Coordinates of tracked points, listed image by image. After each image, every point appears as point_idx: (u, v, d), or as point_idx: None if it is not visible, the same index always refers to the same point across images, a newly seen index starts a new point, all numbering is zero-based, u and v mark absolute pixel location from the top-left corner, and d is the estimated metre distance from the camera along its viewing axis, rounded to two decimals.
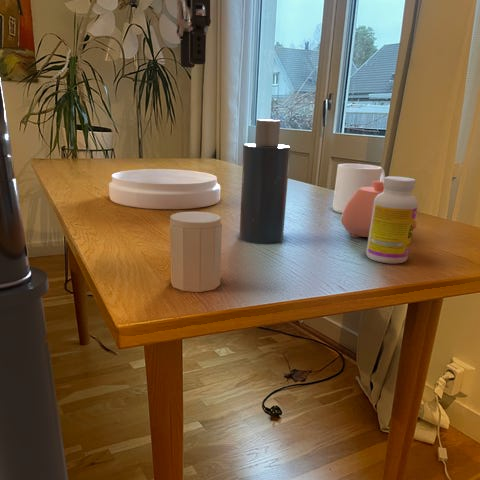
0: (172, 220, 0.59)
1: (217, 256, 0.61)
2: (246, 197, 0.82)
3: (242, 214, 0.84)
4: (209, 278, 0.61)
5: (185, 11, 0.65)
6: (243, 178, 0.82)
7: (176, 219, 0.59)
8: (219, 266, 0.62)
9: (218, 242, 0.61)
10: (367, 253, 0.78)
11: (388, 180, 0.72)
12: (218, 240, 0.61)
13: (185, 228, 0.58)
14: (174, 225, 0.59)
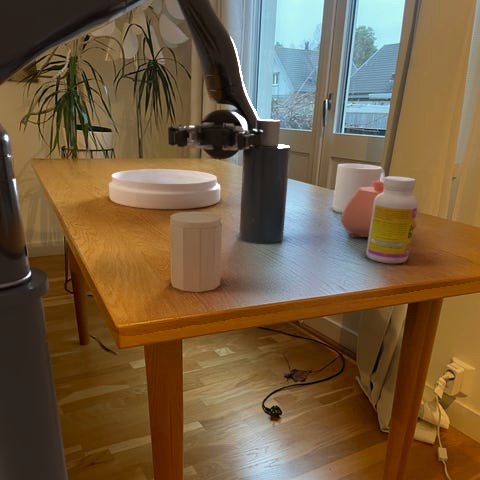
0: (172, 220, 0.59)
1: (217, 256, 0.61)
2: (246, 197, 0.82)
3: (242, 214, 0.84)
4: (209, 278, 0.61)
5: (241, 127, 0.71)
6: (243, 178, 0.82)
7: (176, 219, 0.59)
8: (219, 266, 0.62)
9: (218, 242, 0.61)
10: (367, 253, 0.78)
11: (388, 180, 0.72)
12: (218, 240, 0.61)
13: (185, 228, 0.58)
14: (174, 225, 0.59)
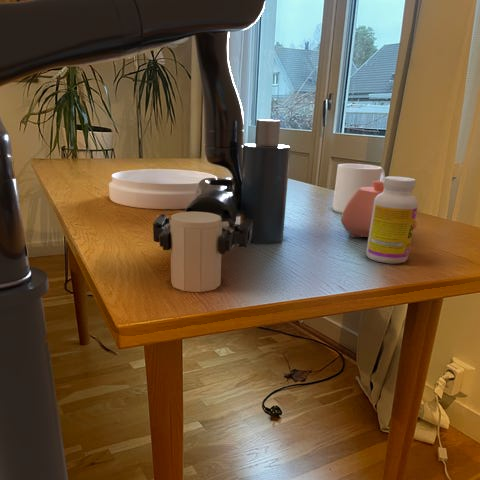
0: (173, 220, 0.59)
1: (218, 257, 0.61)
2: (246, 197, 0.82)
3: (242, 214, 0.84)
4: (210, 278, 0.61)
5: (227, 222, 0.65)
6: (243, 178, 0.82)
7: (177, 219, 0.59)
8: (219, 266, 0.62)
9: (218, 243, 0.61)
10: (367, 253, 0.78)
11: (388, 180, 0.72)
12: (219, 240, 0.61)
13: (186, 228, 0.58)
14: (175, 225, 0.59)
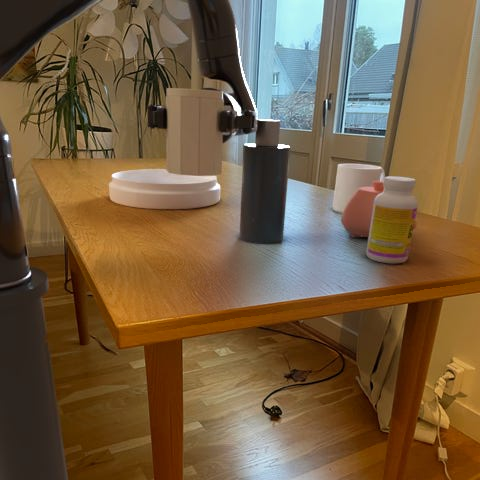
0: (168, 90, 0.53)
1: (218, 137, 0.55)
2: (246, 197, 0.82)
3: (242, 214, 0.84)
4: (209, 160, 0.55)
5: (229, 106, 0.59)
6: (243, 178, 0.82)
7: (173, 88, 0.52)
8: (220, 150, 0.56)
9: (219, 120, 0.54)
10: (367, 253, 0.78)
11: (388, 180, 0.72)
12: (220, 117, 0.54)
13: (183, 96, 0.51)
14: (171, 95, 0.52)
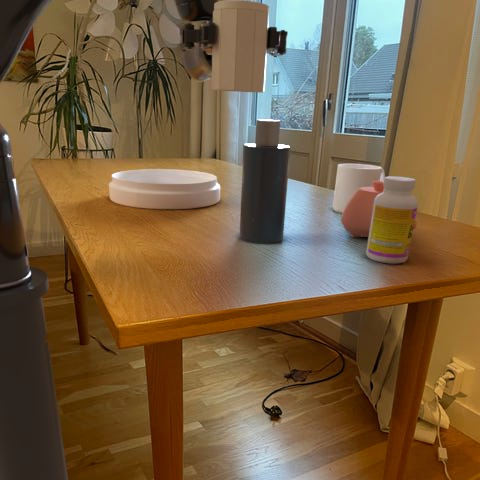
0: (221, 3, 0.53)
1: (266, 53, 0.57)
2: (246, 197, 0.82)
3: (242, 214, 0.84)
4: (260, 76, 0.57)
5: None
6: (243, 178, 0.82)
7: None
8: (265, 67, 0.58)
9: (267, 36, 0.56)
10: (367, 253, 0.78)
11: (388, 180, 0.72)
12: (267, 33, 0.56)
13: (239, 8, 0.53)
14: (224, 8, 0.53)
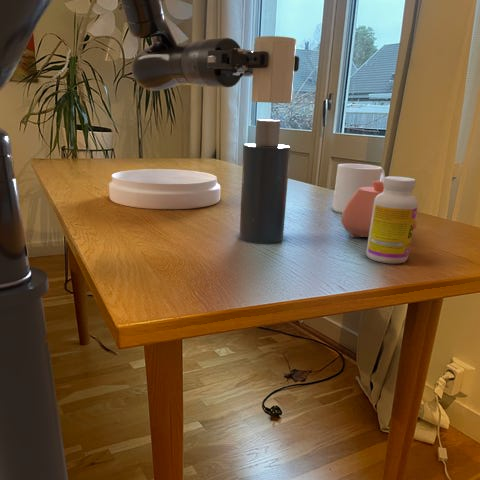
0: (273, 37, 0.71)
1: None
2: (246, 197, 0.82)
3: (242, 214, 0.84)
4: None
5: None
6: (243, 178, 0.82)
7: None
8: None
9: None
10: (367, 253, 0.78)
11: (388, 180, 0.72)
12: None
13: (287, 43, 0.72)
14: (276, 41, 0.71)
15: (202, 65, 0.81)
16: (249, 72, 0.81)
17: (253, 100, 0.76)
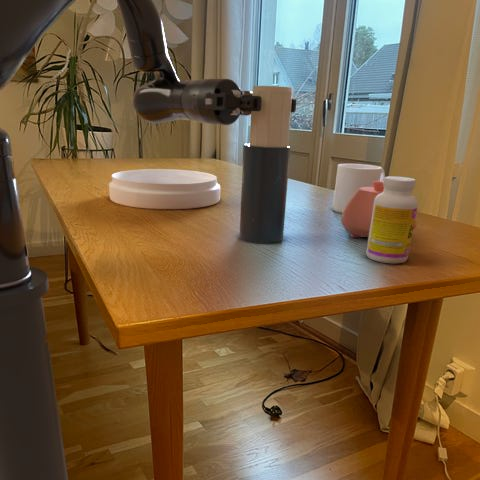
0: (270, 87, 0.74)
1: None
2: (246, 197, 0.82)
3: (242, 214, 0.84)
4: None
5: None
6: (243, 178, 0.82)
7: (274, 86, 0.74)
8: None
9: None
10: (367, 253, 0.78)
11: (388, 180, 0.72)
12: None
13: (284, 92, 0.75)
14: (273, 91, 0.74)
15: (202, 104, 0.84)
16: (247, 111, 0.83)
17: (251, 144, 0.79)
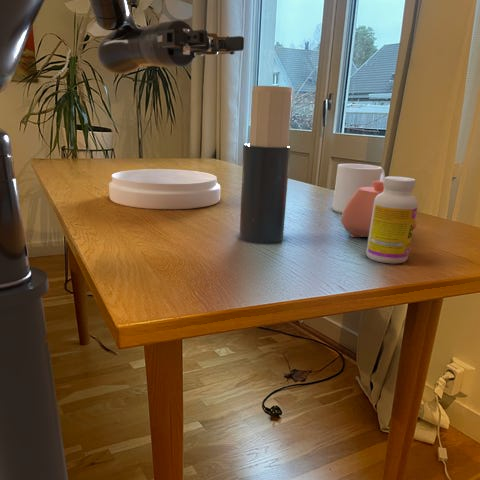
0: (270, 87, 0.74)
1: None
2: (246, 197, 0.82)
3: (242, 214, 0.84)
4: None
5: None
6: (243, 178, 0.82)
7: (274, 86, 0.74)
8: None
9: None
10: (367, 253, 0.78)
11: (388, 180, 0.72)
12: None
13: (284, 92, 0.75)
14: (273, 91, 0.74)
15: (157, 45, 0.88)
16: (200, 52, 0.88)
17: (251, 144, 0.79)
